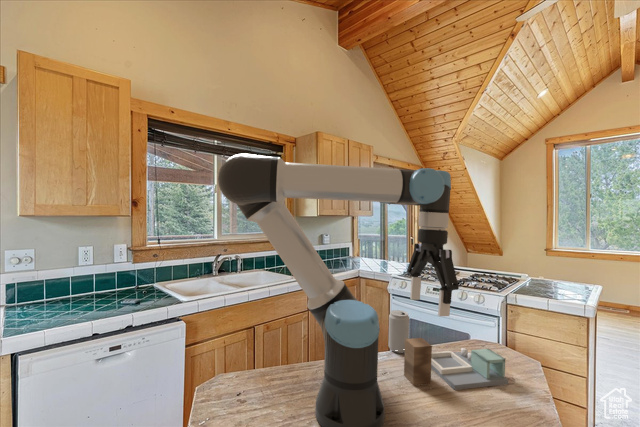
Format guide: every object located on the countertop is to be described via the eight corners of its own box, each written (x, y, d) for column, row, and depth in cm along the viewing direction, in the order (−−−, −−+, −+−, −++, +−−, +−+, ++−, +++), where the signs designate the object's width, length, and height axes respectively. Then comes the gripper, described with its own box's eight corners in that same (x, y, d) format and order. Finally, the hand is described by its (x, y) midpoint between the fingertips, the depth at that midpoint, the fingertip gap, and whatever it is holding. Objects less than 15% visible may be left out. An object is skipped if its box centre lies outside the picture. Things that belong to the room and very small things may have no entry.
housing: (486, 378, 80) (487, 360, 79) (470, 366, 85) (471, 349, 85) (504, 376, 81) (505, 358, 81) (488, 365, 87) (488, 348, 87)
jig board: (453, 390, 76) (453, 377, 76) (420, 359, 92) (420, 348, 92) (508, 383, 80) (508, 371, 80) (467, 355, 95) (467, 344, 95)
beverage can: (409, 355, 94) (410, 317, 94) (388, 352, 96) (389, 315, 96) (407, 346, 101) (408, 310, 101) (388, 344, 102) (388, 308, 102)
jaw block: (413, 385, 78) (414, 347, 78) (403, 375, 83) (405, 338, 83) (430, 383, 79) (431, 345, 79) (420, 373, 84) (421, 337, 84)
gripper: (478, 233, 70) (472, 323, 71) (420, 226, 95) (416, 293, 95) (450, 231, 69) (444, 324, 69) (398, 225, 93) (394, 293, 93)
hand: (428, 306), depth 82 cm, fingers open, 13 cm apart
